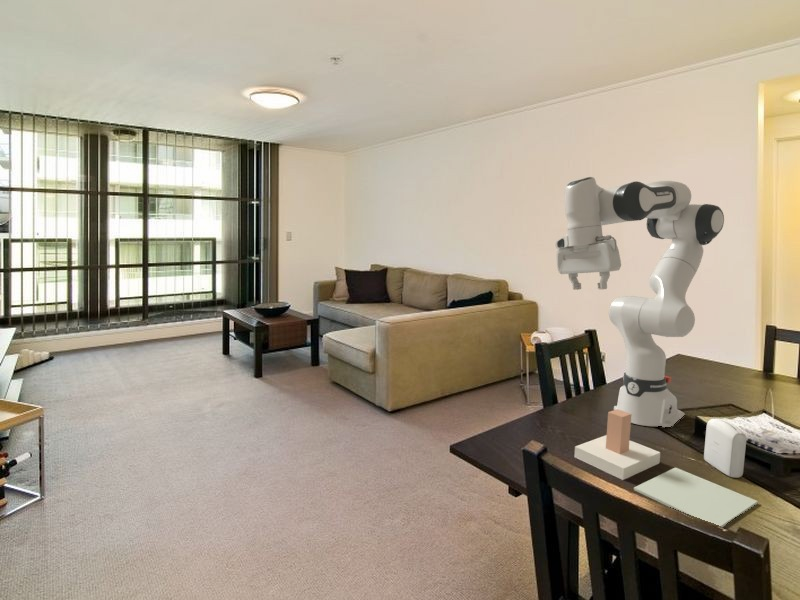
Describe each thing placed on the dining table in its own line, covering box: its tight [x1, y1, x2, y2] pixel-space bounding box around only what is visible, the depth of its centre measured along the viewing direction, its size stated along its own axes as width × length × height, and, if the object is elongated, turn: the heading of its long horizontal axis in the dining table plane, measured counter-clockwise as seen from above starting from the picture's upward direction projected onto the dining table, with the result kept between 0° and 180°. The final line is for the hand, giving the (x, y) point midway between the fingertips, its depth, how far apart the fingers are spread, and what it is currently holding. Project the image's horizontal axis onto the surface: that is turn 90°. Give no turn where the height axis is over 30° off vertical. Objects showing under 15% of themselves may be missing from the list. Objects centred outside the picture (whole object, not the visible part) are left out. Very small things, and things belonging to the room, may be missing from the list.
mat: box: [633, 467, 759, 528], centre depth 109 cm, size 18×18×1 cm
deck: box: [573, 434, 661, 481], centre depth 126 cm, size 16×14×3 cm
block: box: [606, 409, 632, 454], centre depth 125 cm, size 4×4×10 cm
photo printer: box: [703, 418, 747, 479], centre depth 121 cm, size 10×4×12 cm, turn 3°
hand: (589, 289), depth 131 cm, fingers open, 8 cm apart
